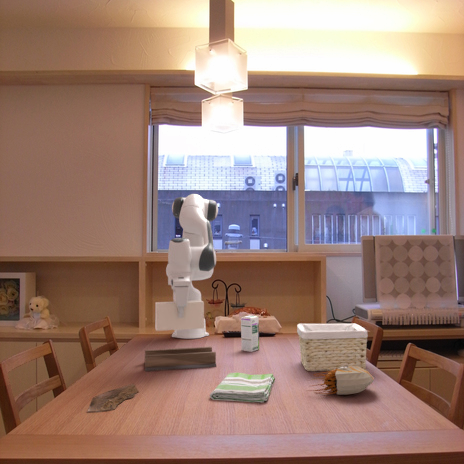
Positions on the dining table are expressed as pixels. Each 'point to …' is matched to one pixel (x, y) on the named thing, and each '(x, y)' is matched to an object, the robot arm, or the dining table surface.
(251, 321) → the syrup box
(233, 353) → the dining table surface
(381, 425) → the dining table surface
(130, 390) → the wooden fragment
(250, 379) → the dish towel
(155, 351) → the slot rack
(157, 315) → the white rectangular block
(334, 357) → the storage basket
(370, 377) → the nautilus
